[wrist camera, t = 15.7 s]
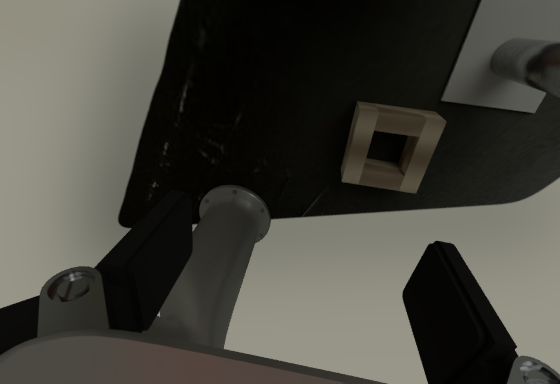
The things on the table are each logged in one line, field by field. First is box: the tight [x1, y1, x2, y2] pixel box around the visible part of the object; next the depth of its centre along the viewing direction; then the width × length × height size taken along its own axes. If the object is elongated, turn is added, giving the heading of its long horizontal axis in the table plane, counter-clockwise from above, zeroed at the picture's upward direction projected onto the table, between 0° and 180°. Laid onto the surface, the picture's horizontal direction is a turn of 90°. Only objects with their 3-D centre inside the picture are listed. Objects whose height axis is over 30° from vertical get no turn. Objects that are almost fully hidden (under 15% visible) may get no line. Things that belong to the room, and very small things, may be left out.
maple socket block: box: [341, 101, 447, 193], centre depth 37 cm, size 10×10×4 cm
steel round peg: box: [490, 38, 560, 97], centre depth 26 cm, size 4×4×13 cm
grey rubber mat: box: [440, 0, 560, 113], centre depth 31 cm, size 11×11×1 cm
